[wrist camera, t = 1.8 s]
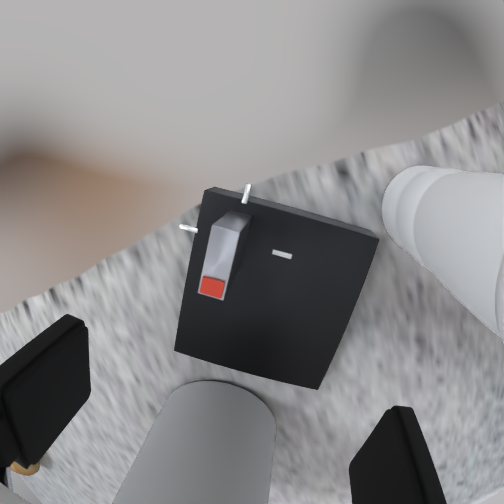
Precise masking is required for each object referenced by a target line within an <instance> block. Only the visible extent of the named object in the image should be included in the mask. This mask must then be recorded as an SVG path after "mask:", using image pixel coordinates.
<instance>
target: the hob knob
mask: <svg viewBox="0 0 504 504" xmlns="http://www.w3.org/2000/svg"><path fill="white" fill-rule="evenodd" d="M252 217H253V216H252V215H248V214H244V213H240V212H237V211H233V210H230V211H229V212H228V213H227V214H225V215H224V216H223V217H222V218H220V219H219V220H218V221H216V222H215V223H214V224H213V225H212V227H211V232H210V236H209V241H208V246H207V250H206V255H205V260H204V264H203V269H202V274H201V279H200V284H199V289H198V293H199V294H203V295H206V296H209V297H213V298H216V299H219V300H224V299H225V297H226V295H227V293H228V291H229V289H230V287H231V285H232V283H233V281H234V279H235V277H236V275H237V273H238V271H239V268H240V264H241V260H242V256H243V252H244V248H245V244H246V240H247V236H248V232H249V228H250V224H251V221H252Z"/></svg>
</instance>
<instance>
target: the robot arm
mask: <svg viewBox="0 0 504 504" xmlns="http://www.w3.org/2000/svg"><path fill="white" fill-rule="evenodd" d="M90 393H91V383H90V368H89V343H88V328H87V327H85V323H84V321H83V320H81V319H78V318H76V317H74V316H71V315H69V314H66V315H64V316H63V317H61V318H60V319H59V320H57V321H56V322H55V323H54V324H52V325H51V326H50V327H48V328H47V329H46V330H44V331H43V332H42V333H40V334H39V335H38V336H37V337H35V338H34V339H33V340H31V341H30V342H29V343H28V344H26V345H25V346H24V347H22V348H21V349H20V350H19V351H17V352H16V353H15V354H14V355H12V356H11V357H10V358H9V359H7V360H6V361H5V362H4V363H2V364H1V365H0V504H31V503H29V502H27V501H26V500H25V499H23V498H22V497H20V496H19V495H17V494H16V493H14V492H13V487H12V480H11V473H10V466H11V464H12V463H13V462H14V461H15V462H16V463H18V464H19V465H21V466H22V467H23V468H25V469H26V470H27V469H28V468H29V466H30V465H31V464H32V465H35V464H37V463H38V462H39V460H40V459H41V458H42V457H43V455H44V454H45V453H46V451H47V450H48V449H49V448H50V446H51V445H52V444H53V442H54V441H55V440H56V439H57V437H58V436H59V435H60V433H61V432H62V431H63V430H64V428H65V427H66V426H67V425H68V423H69V422H70V421H71V420H72V418H73V417H74V416H75V414H76V413H77V412H78V411H79V409H80V408H81V407H82V406H83V404H84V403H85V402H86V401H87V399H88V398H89V396H90ZM349 476H350V485H351V495H352V504H447V503H446V500H445V497H444V494H443V490H442V487H441V484H440V481H439V478H438V475H437V472H436V469H435V467H434V464H433V461H432V458H431V455H430V452H429V450H428V447H427V444H426V442H425V439H424V436H423V434H422V431H421V428H420V426H419V423H418V421H417V418H416V415H415V413H414V410H413V409H412V408H411V407H404V406H393V407H392V408H391V409H388V410H387V411H386V412H385V413H384V415H383V416H382V418H381V419H380V421H379V422H378V424H377V425H376V427H375V428H374V430H373V431H372V433H371V434H370V436H369V437H368V439H367V440H366V442H365V443H364V444H363V446H362V447H361V449H360V450H359V451H358V453H357V454H356V456H355V457H354V458H353V460H352V461H351V463H350V466H349Z"/></svg>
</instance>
